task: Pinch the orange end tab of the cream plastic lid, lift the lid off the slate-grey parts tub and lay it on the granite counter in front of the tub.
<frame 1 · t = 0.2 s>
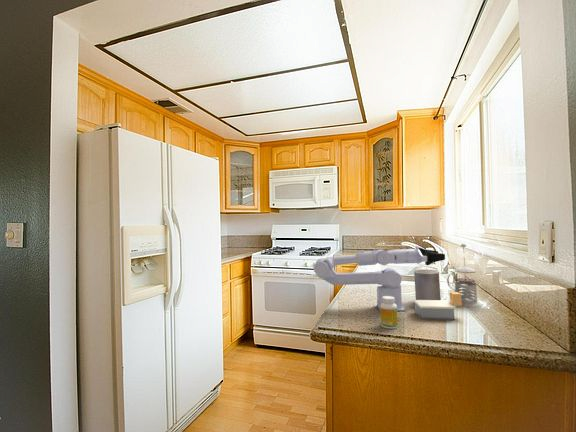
hand: (441, 255, 113), 21 cm above the countertop, tool horizontal, fingers open, 7 cm apart
tub: (434, 316, 105), on the countertop
french press: (463, 303, 121), on the countertop
pillar candle: (427, 303, 121), on the countertop
supplement bottle: (389, 326, 96), on the countertop
lid: (433, 305, 105), point 4 cm above the countertop, touching tub
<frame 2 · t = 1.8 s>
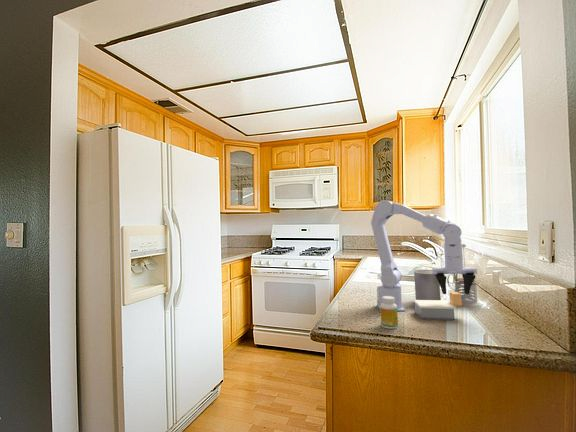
hand: (455, 293, 104), 8 cm above the countertop, tool pointing down, fingers open, 7 cm apart
nothing on the countertop moved.
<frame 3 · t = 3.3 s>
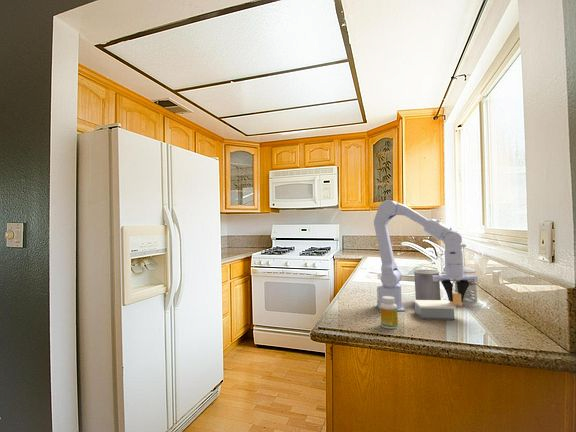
hand: (455, 301, 104), 6 cm above the countertop, tool pointing down, fingers closed on lid, 3 cm apart
lid: (433, 305, 105), point 4 cm above the countertop, touching gripper, tub
everything else where it was.
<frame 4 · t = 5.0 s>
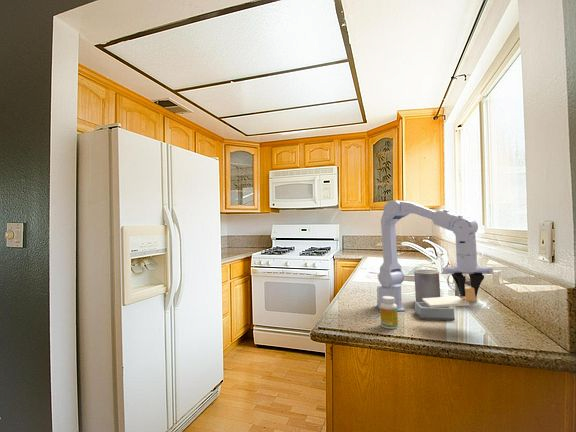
hand: (468, 295, 94), 10 cm above the countertop, tool pointing down, fingers closed on lid, 3 cm apart
lid: (444, 302, 95), point 8 cm above the countertop, touching gripper
everything else where it was.
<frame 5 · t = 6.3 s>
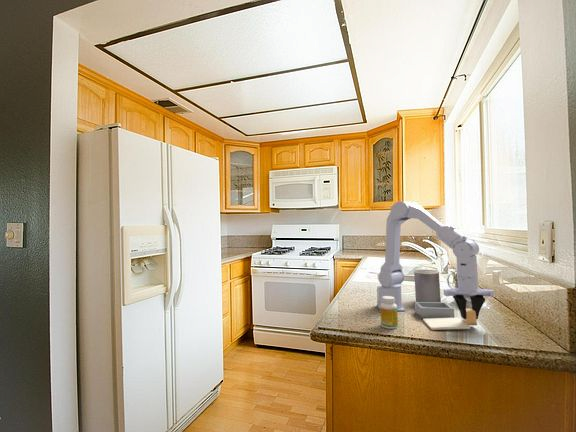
hand: (469, 318, 93), 3 cm above the countertop, tool pointing down, fingers closed on lid, 3 cm apart
lid: (445, 324, 94), point 1 cm above the countertop, touching gripper
everything else where it was.
when the fingers open (3 cm above the countertop, at t = 7.0 s): lid stays where it is, on the countertop.
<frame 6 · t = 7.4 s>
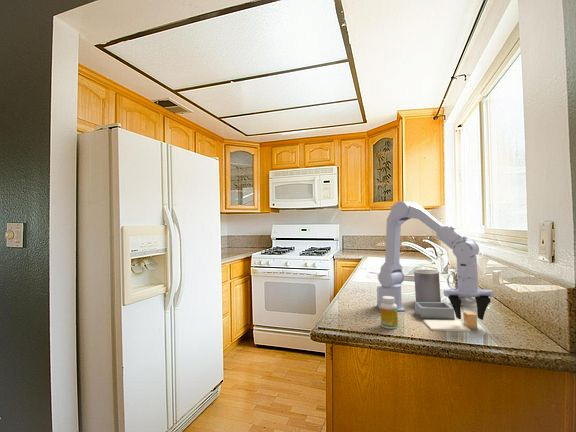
hand: (469, 318, 93), 3 cm above the countertop, tool pointing down, fingers open, 6 cm apart
lid: (445, 326, 94), on the countertop
everything else where it was.
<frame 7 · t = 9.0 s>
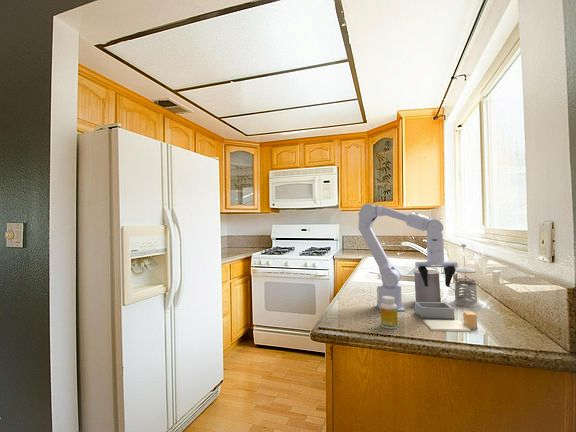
hand: (436, 286, 109), 10 cm above the countertop, tool pointing down, fingers open, 7 cm apart
nothing on the countertop moved.
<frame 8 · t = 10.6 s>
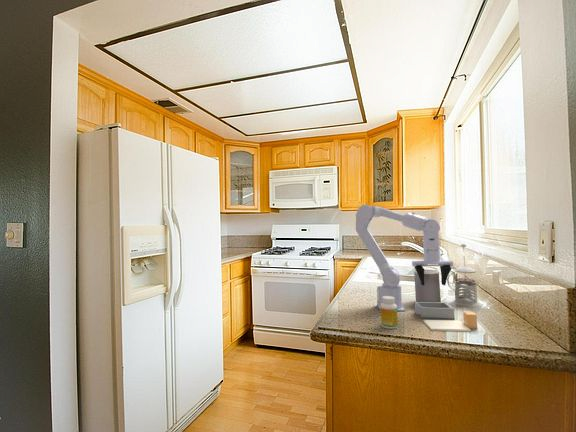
hand: (433, 284, 111), 10 cm above the countertop, tool pointing down, fingers open, 7 cm apart
nothing on the countertop moved.
at the end: lid inside the target area (0.3 cm from its centre), on the countertop; lid touching countertop; lid tilted 0° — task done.
